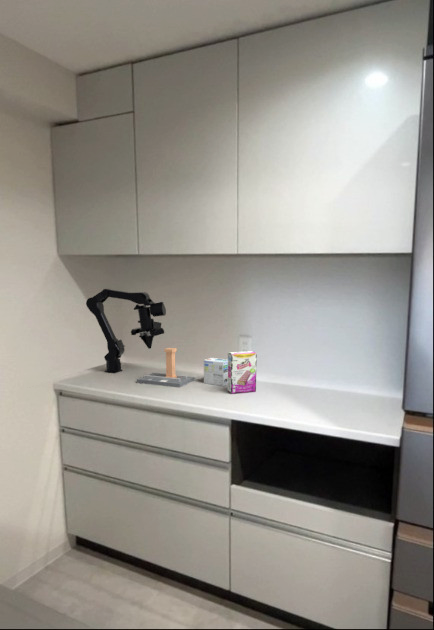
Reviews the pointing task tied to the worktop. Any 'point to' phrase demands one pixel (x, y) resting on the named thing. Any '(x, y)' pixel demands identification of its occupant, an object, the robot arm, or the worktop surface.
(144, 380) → the grey base plate
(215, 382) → the light bulb box
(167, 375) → the orange square pillar
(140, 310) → the robot arm
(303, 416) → the worktop surface
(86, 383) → the worktop surface
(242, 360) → the candy bar box
